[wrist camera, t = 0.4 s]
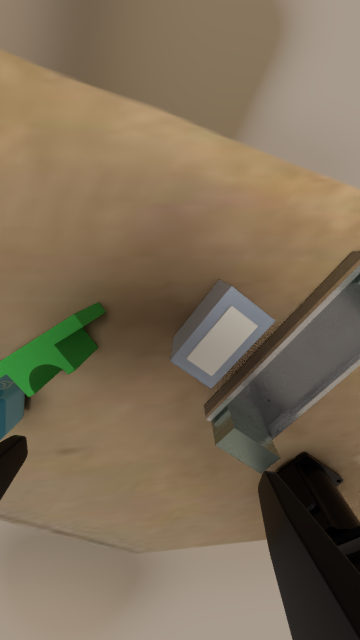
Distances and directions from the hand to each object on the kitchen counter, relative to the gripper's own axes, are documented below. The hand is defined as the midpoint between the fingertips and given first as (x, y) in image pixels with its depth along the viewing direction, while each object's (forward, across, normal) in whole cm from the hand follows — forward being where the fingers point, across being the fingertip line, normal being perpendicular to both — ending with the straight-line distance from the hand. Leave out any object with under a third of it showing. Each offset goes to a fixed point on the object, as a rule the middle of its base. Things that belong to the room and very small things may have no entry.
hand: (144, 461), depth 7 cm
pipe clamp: (+13, +11, +2) cm, 17 cm away
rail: (+13, -12, 0) cm, 18 cm away
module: (+13, -4, -2) cm, 13 cm away
